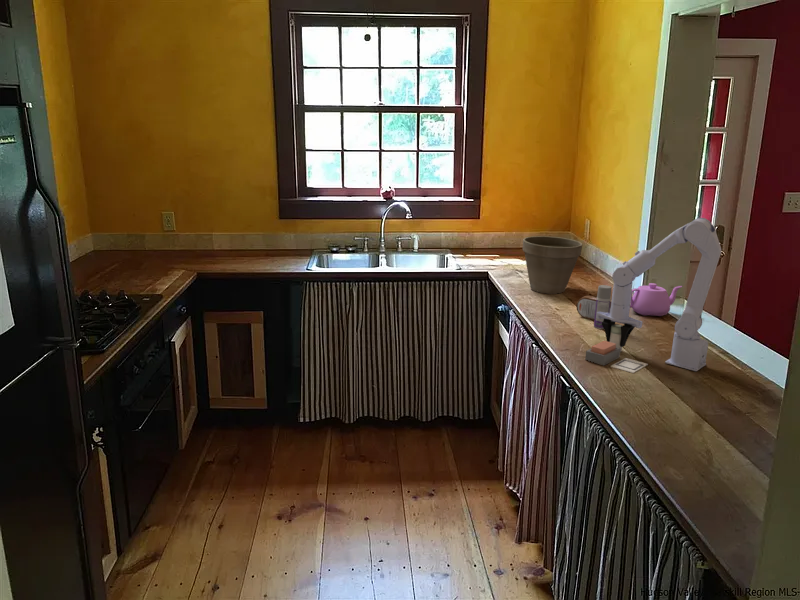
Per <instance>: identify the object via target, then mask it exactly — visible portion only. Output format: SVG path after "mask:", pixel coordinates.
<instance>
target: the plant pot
mask: <svg viewBox="0 0 800 600" xmlns="http://www.w3.org/2000/svg"><path fill="white" fill-rule="evenodd" d="M582 249H583V243H582V242H581V241H579V240H577V239H571V238H566V237H558V236H545V235H535V236H525V237H524V238H523V239H522V252H524V257H525V262H526V270H527V277H528V281H529V287H530V289H531V290H532V291H533V292H537V293H540V294H541V293H542V294H548V295H557V293H559V294H562V292H563V293H564V292H565V291H566V289H567V286H568V284H569V282H570V279H571V276H572V274H573V271H574V269H575V266H576V263H577V261H578V259H579V257H580V256H581V254H582Z"/></svg>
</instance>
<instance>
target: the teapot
mask: <svg viewBox="0 0 800 600" xmlns="http://www.w3.org/2000/svg"><path fill="white" fill-rule="evenodd" d="M682 287H683V286H682V285H677V286H674V287H673V289H672V290H671V294H670V296H669V294H668V291H667V289H665V288H664V287H661V286H658V284H657V283H656V282H655V283H654V282H653V283H652V282H650V283H648V285H640V286H638V287H635V288H632V295H631V303H630V308H631V309H632V310H633V311H634V312H635V313H636V314H638V315H641V316H644V317H647V316H652V317H653V316H657V317H662V316H666V315H668V313H669V312H670V311H671V306H672V305H673V304H674V303H675V300H676V296H677V293H678V290H679V289H681V288H682Z"/></svg>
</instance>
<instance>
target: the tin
mask: <svg viewBox="0 0 800 600" xmlns="http://www.w3.org/2000/svg"><path fill="white" fill-rule="evenodd" d="M596 301H597V296H592V295H585V296H582V297H581V298H579V299H578V300H577V302H576V311H577V313H578V315H579V316H581V317H582V318H583V319H587V320H592V321H594V319H595V310H596ZM611 301H612V300H610V309H609V313H610V310H611Z"/></svg>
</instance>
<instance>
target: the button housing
mask: <svg viewBox="0 0 800 600" xmlns="http://www.w3.org/2000/svg"><path fill="white" fill-rule="evenodd" d="M620 349H621V348H617V347H616V349H615V350H613V351H611V352H609V353H607V354H605V355H602V354H598V353H595V352H591V348H589V349H587V350H586V351H585V357H584V358H585V359H584V360H585V361H586V360H588V361H587V362H590V361H591V362H590V363H593V362H594V363H593V364H597V365H601V366H606V365H608V364H610V363H611V362H613V361H615V360H617V359H619V358H620V356H621V352H620Z"/></svg>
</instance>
